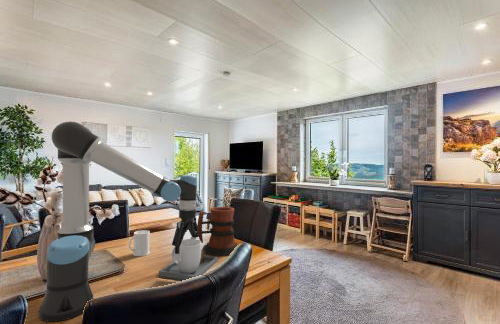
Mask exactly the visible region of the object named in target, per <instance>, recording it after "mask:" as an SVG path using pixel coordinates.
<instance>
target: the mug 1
mask: <svg viewBox="0 0 500 324" xmlns="http://www.w3.org/2000/svg"><path fill="white" fill-rule="evenodd" d="M150 232H151V231H150V230H148V229H147V230H146V229H144V230H142V229H141V230H136V231H134V232H133V236H131V238H130V240H129V242H128V248H129V250H131V251H132V252H133V253H132V255H133V256H134V257H144V256H148V255H150V237H151V235H150V234H151V233H150ZM132 241H133V248H132V247H131V242H132Z"/></svg>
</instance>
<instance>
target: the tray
mask: <svg viewBox="0 0 500 324" xmlns="http://www.w3.org/2000/svg"><path fill="white" fill-rule="evenodd" d="M218 261H219V256H213V255H205V260H204V261H203V263H202V264H201V263H199V266H198V268H197V270H196V271H195V272H194V273H191V274H184V273H182V272H181V271H180V269H179V267H178V264H176V263H175V262H174V261H172V262H171V263H169V264H168V265H166V266H165V267H163V268H162V269H160V270H159V271H158V279H164V280H168V281H174V282H175V281H176V282H182V280H186V279H189V278H192V277H196V276H199V275H202V276H203V275H204V274H205V273H207V271H208V270H210V269H211V268H212V267H213V266H214V265H216V264H217V262H218ZM159 276H161V277H159Z"/></svg>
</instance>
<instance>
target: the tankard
mask: <svg viewBox="0 0 500 324" xmlns="http://www.w3.org/2000/svg"><path fill="white" fill-rule="evenodd" d="M209 210H210V218H211V219H209V220H206V221H205V220H203V219H204V214H205V212H204V211H203V210H201V211H199V213H198V218H197V227H198V231H199V236H198V237H197V238H198V240H200V241H201V244H204V240H203V234H210V236H209V240H208V242H207V243H206V244H205V245H203V246H202V250H205V255H207V256H213V257H227V256H230V255H229V254H230V253H231V252H232V251H233V250H234V248H235V247H236V246H237V245H239V244H238V243H237V242H236V240H235V236H234V234H235V229H234V228H233V225H235V219H234V214H235V208H234V207H228V206H214V207H211V208H210V209H209ZM203 225H211V228H209V230H203Z"/></svg>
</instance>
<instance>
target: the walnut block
mask: <svg viewBox="0 0 500 324" xmlns="http://www.w3.org/2000/svg"><path fill="white" fill-rule="evenodd" d="M205 256H206V253H205V250H203V249H201V259H200V263H201V264H202V263H203V261H204V260H205Z"/></svg>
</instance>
